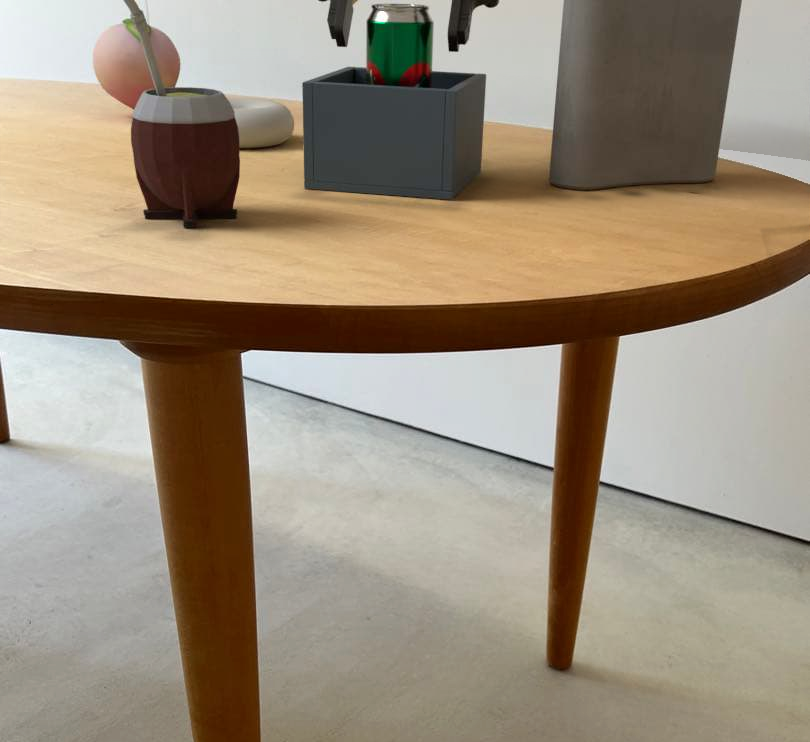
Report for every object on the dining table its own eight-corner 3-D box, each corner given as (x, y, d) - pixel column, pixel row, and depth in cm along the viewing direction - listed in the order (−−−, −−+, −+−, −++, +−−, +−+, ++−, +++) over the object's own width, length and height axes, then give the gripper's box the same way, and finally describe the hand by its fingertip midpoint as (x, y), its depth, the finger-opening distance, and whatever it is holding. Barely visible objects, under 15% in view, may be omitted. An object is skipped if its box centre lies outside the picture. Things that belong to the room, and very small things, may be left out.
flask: (685, 168, 96) (722, -98, 86) (726, 181, 91) (771, -99, 82) (532, 177, 91) (554, -105, 81) (568, 192, 86) (595, -106, 76)
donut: (306, 151, 100) (282, 131, 108) (305, 110, 98) (281, 93, 106) (194, 154, 97) (179, 133, 105) (192, 113, 95) (176, 95, 104)
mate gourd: (242, 205, 79) (231, -30, 72) (243, 232, 72) (231, -26, 65) (135, 206, 78) (114, -33, 71) (126, 232, 72) (101, -28, 64)
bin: (481, 172, 92) (486, 73, 89) (451, 200, 83) (456, 91, 79) (347, 162, 95) (347, 66, 91) (304, 188, 85) (301, 82, 81)
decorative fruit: (89, 112, 116) (78, 6, 111) (166, 109, 119) (158, 6, 115) (111, 125, 109) (100, 13, 104) (192, 121, 112) (185, 12, 107)
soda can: (433, 168, 90) (439, 4, 85) (422, 179, 86) (427, 8, 80) (373, 164, 91) (375, 2, 85) (358, 175, 87) (359, 5, 81)
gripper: (326, -174, 84) (293, 1, 80) (513, -172, 82) (490, 8, 78) (341, -93, 91) (311, 72, 87) (514, -89, 90) (492, 80, 85)
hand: (396, 41), depth 83 cm, fingers open, 8 cm apart
